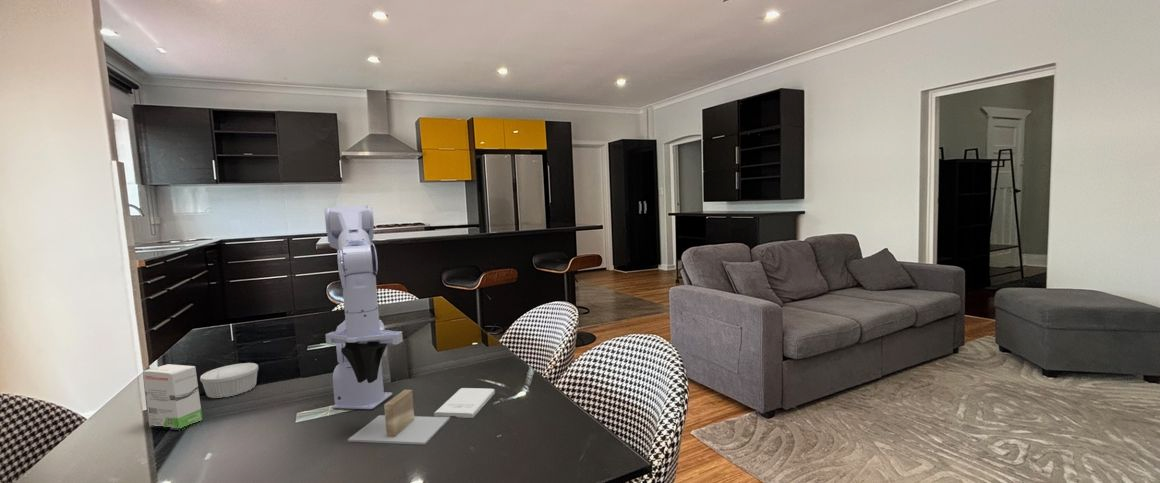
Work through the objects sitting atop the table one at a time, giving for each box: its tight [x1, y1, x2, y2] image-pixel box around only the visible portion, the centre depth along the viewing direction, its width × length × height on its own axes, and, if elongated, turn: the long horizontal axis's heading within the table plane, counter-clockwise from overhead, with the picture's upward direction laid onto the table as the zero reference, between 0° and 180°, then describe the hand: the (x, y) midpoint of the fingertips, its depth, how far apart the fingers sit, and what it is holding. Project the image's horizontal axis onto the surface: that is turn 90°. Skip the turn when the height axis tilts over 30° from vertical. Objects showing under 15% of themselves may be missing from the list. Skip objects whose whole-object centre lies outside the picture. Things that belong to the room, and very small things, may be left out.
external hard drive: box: [433, 387, 496, 419], centre depth 102 cm, size 2×8×12 cm
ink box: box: [142, 363, 203, 429], centre depth 99 cm, size 9×5×12 cm, turn 73°
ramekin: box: [199, 362, 259, 399], centre depth 116 cm, size 11×11×5 cm
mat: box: [347, 414, 451, 446], centre depth 91 cm, size 15×10×1 cm, turn 80°
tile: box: [383, 389, 415, 437], centre depth 91 cm, size 2×7×6 cm, turn 170°
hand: (367, 380), depth 92 cm, fingers closed
